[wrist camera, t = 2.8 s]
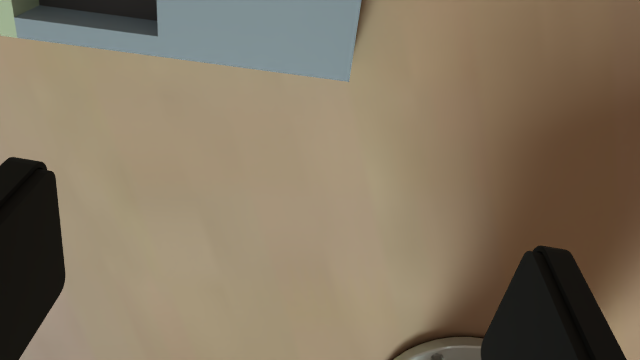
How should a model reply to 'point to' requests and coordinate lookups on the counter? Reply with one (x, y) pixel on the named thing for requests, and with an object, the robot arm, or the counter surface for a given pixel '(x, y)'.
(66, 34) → the slate trap deck
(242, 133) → the counter surface
